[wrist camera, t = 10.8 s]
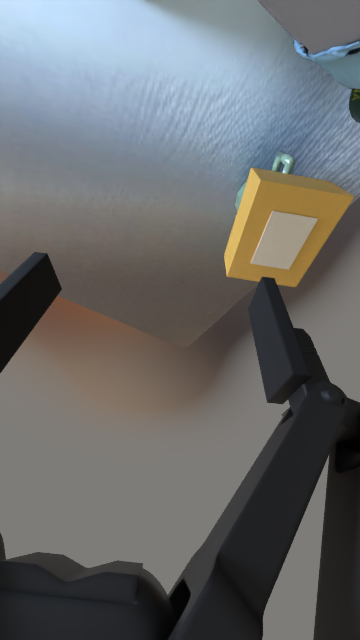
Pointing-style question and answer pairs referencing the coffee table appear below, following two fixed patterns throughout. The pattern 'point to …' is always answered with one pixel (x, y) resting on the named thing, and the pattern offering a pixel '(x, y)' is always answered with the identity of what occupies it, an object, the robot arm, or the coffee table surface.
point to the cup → (280, 159)
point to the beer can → (355, 104)
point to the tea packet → (282, 225)
